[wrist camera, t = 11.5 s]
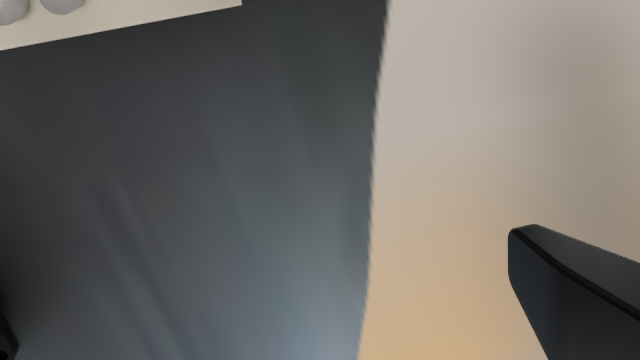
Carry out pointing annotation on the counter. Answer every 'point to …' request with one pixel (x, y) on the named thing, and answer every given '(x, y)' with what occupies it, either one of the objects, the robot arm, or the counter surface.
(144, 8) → the block
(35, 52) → the counter surface
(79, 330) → the counter surface
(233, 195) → the counter surface
